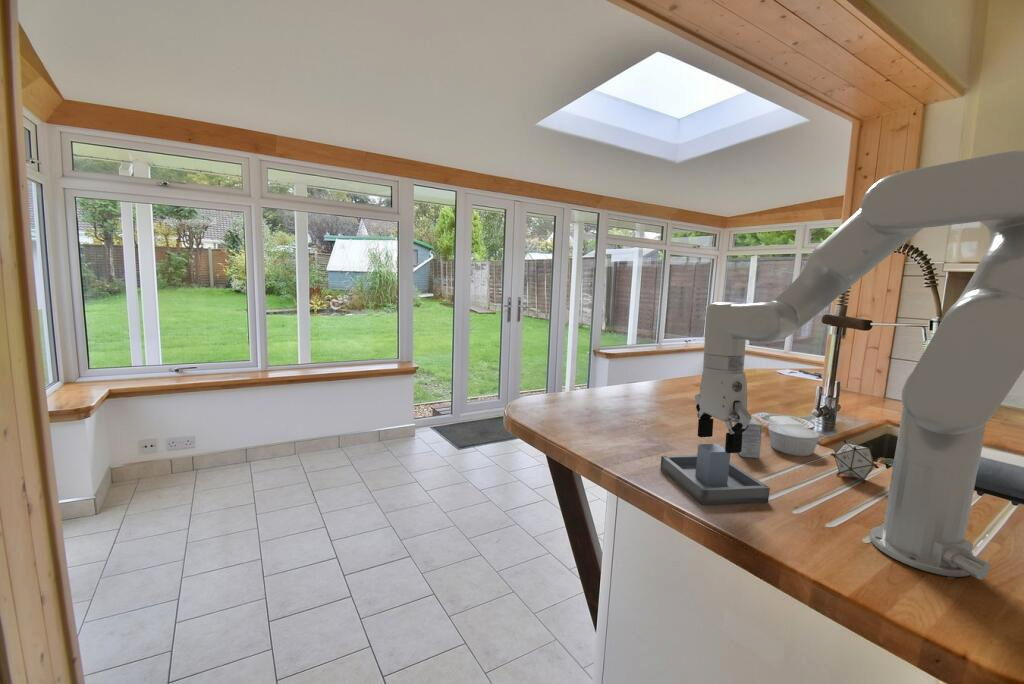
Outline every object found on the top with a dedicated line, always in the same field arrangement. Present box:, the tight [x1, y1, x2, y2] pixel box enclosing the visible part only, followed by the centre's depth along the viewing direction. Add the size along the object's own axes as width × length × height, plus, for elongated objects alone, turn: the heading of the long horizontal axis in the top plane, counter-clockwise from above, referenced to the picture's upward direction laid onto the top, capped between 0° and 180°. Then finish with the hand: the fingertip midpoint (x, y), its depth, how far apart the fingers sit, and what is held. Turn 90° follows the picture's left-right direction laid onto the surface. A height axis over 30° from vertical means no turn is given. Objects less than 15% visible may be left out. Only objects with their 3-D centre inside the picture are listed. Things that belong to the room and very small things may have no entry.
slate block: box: [695, 443, 731, 485], centre depth 95 cm, size 4×4×7 cm
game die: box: [830, 439, 880, 484], centre depth 101 cm, size 9×8×10 cm
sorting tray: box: [660, 454, 770, 506], centre depth 96 cm, size 17×14×3 cm
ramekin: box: [767, 423, 821, 457], centre depth 118 cm, size 11×11×5 cm
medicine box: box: [733, 415, 763, 459], centre depth 115 cm, size 8×4×9 cm, turn 168°
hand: (718, 444), depth 94 cm, fingers open, 9 cm apart
